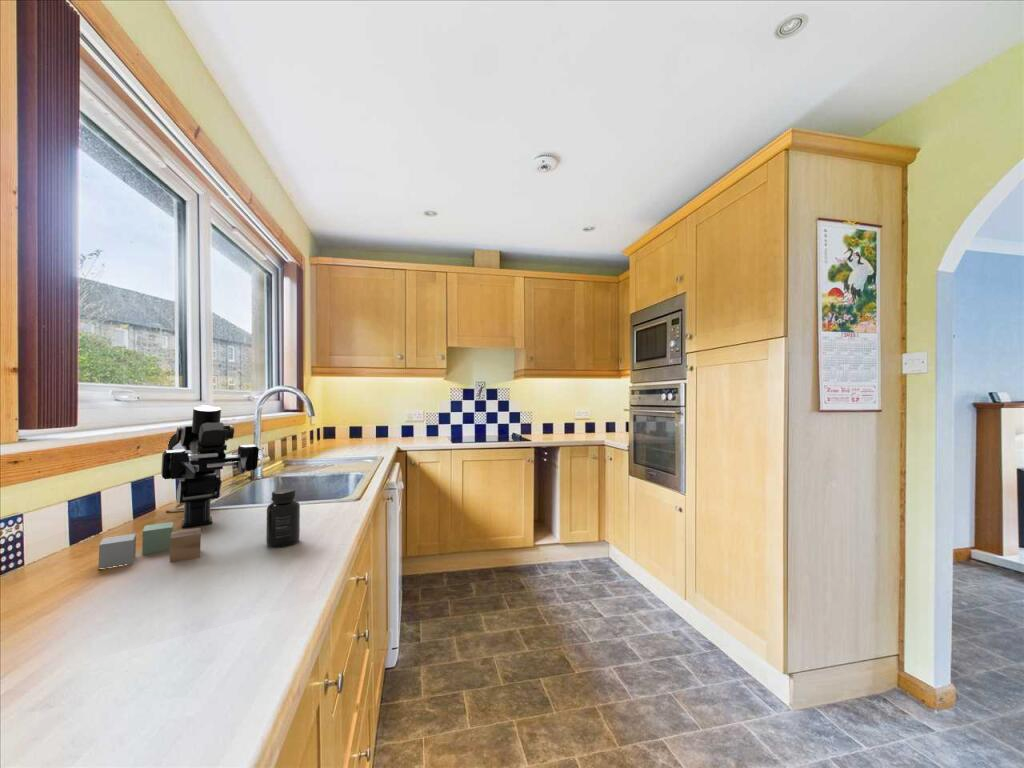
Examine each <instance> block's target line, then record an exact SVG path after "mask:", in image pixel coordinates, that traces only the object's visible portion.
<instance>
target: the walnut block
mask: <svg viewBox="0 0 1024 768" xmlns="http://www.w3.org/2000/svg"><path fill="white" fill-rule="evenodd" d="M201 533H202V531H201V527H196V528H195V527H194V528H191V529H190V528H188V529H183V530H182V529H181V530H175V531H173V532H172V533H171V538H170V550H169V563H175V562H181V561H186V560H192V559H197V558H199V559H200V558H201V540H202V539H201V538H202V537H201V535H202V534H201Z"/></svg>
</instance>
